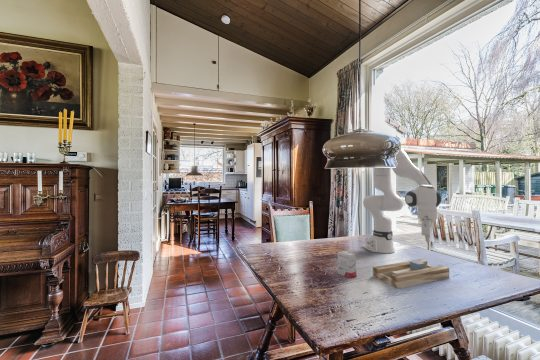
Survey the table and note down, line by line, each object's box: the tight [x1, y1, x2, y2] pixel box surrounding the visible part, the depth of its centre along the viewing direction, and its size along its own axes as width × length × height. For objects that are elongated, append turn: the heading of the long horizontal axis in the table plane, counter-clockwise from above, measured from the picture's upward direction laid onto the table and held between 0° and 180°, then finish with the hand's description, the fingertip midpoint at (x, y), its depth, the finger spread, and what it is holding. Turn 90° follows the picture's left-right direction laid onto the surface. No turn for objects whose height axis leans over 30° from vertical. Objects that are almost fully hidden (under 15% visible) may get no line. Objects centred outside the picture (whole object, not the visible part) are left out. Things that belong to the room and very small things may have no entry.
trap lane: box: [372, 258, 450, 289], centre depth 131 cm, size 16×34×5 cm, turn 110°
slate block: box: [409, 259, 426, 271], centre depth 133 cm, size 5×5×4 cm
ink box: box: [336, 250, 357, 279], centre depth 135 cm, size 9×5×12 cm, turn 33°
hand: (427, 241), depth 135 cm, fingers closed
